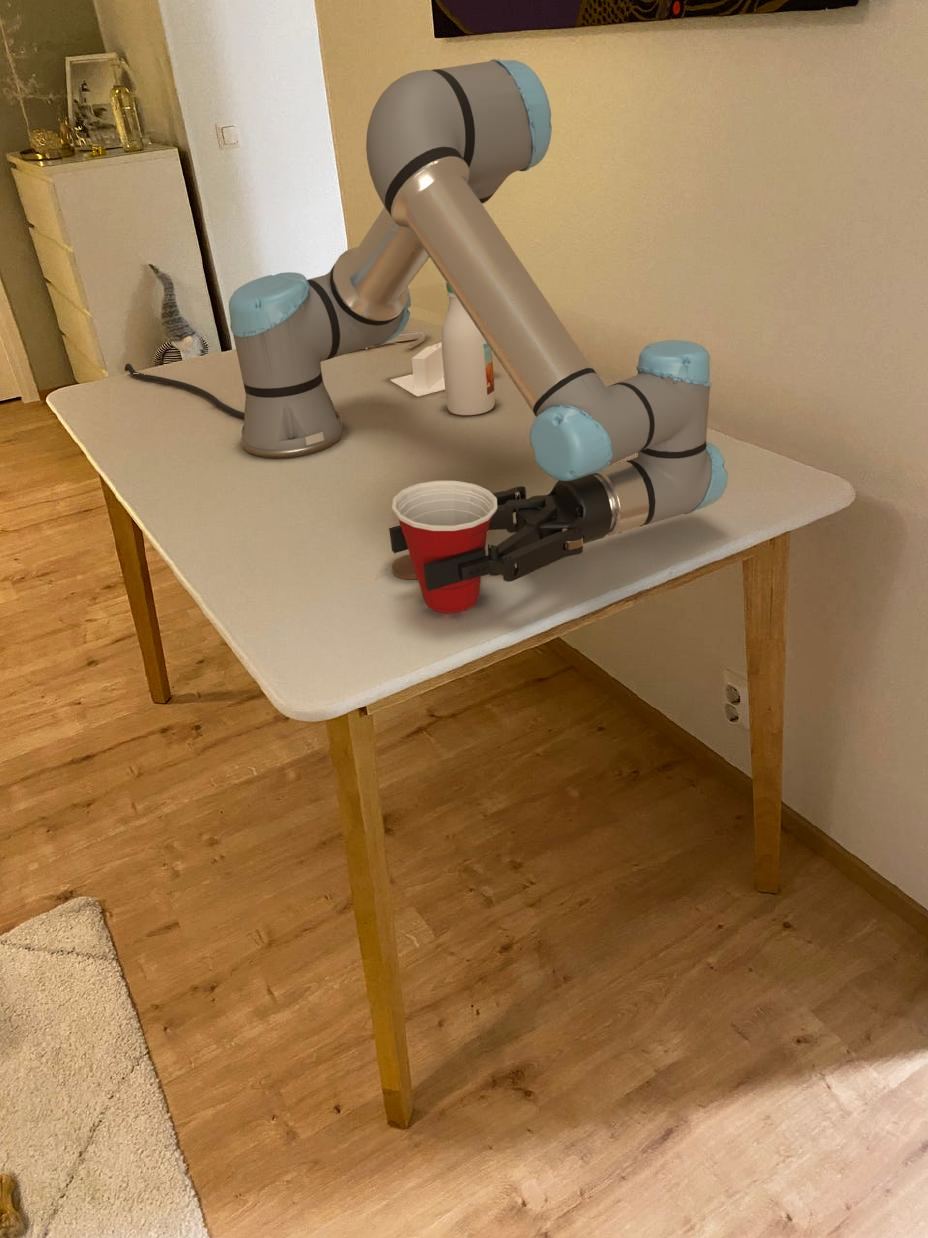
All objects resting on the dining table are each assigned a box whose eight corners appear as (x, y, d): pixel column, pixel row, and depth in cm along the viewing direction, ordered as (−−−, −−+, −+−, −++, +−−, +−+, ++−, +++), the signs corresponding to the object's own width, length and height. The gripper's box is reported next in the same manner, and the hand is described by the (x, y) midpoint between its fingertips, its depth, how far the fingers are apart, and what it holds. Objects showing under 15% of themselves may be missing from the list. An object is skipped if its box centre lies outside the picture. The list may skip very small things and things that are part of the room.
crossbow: (413, 333, 196) (413, 323, 195) (436, 349, 186) (435, 338, 185) (336, 343, 191) (335, 332, 190) (355, 359, 181) (354, 348, 180)
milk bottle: (479, 419, 151) (469, 286, 140) (437, 413, 155) (425, 283, 144) (504, 402, 156) (496, 273, 146) (463, 397, 160) (453, 270, 149)
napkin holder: (417, 396, 162) (414, 362, 159) (388, 379, 170) (384, 347, 167) (495, 376, 167) (493, 343, 164) (463, 361, 176) (461, 329, 173)
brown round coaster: (382, 573, 112) (382, 569, 112) (410, 553, 115) (409, 549, 115) (419, 583, 109) (418, 579, 109) (446, 563, 113) (445, 559, 112)
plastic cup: (494, 629, 100) (486, 524, 94) (392, 624, 102) (378, 522, 96) (511, 576, 109) (505, 477, 103) (417, 573, 111) (406, 476, 105)
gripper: (651, 574, 102) (454, 637, 94) (550, 500, 118) (376, 549, 111) (653, 509, 98) (447, 570, 90) (548, 441, 114) (367, 488, 107)
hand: (408, 558), depth 101 cm, fingers closed on plastic cup, 9 cm apart
